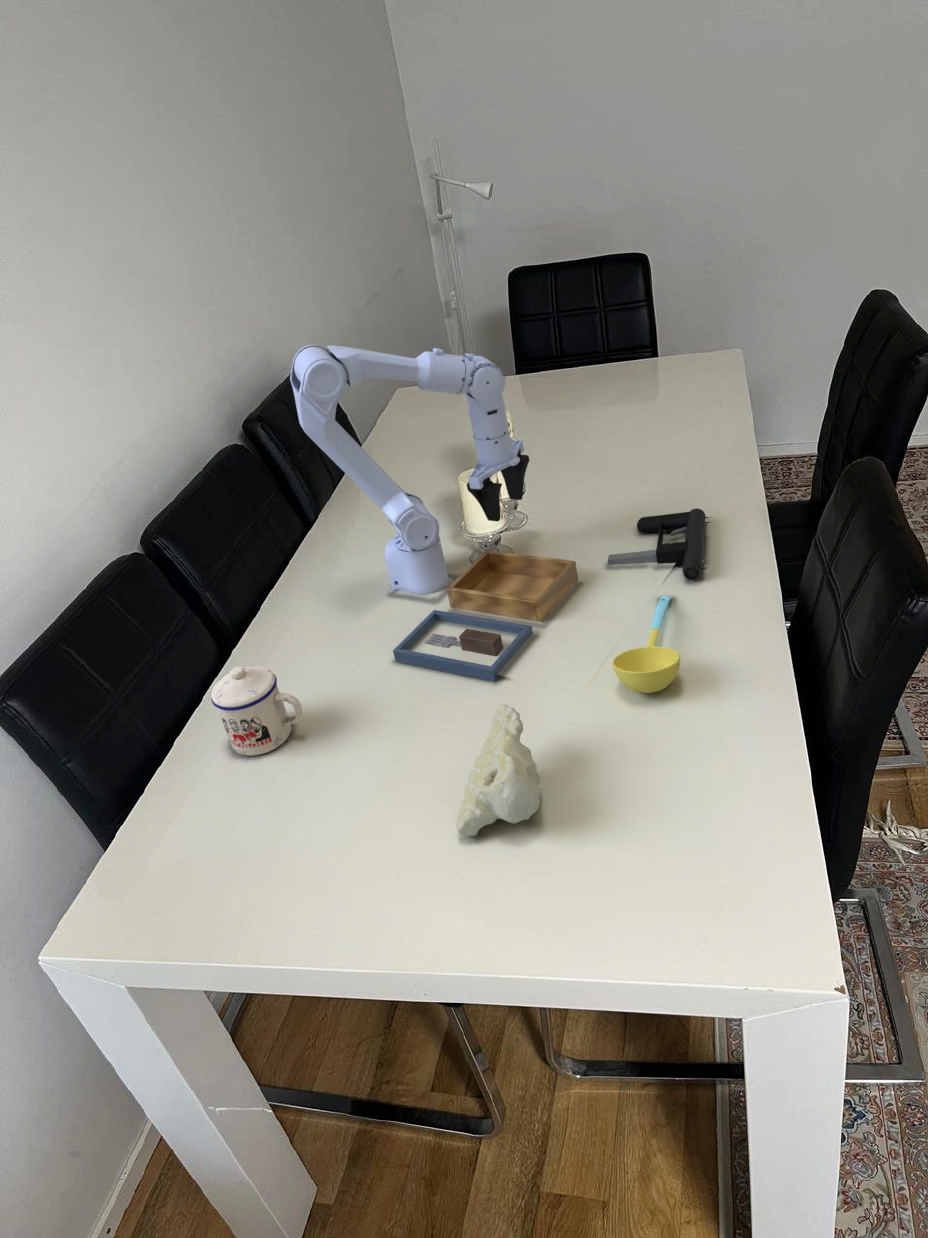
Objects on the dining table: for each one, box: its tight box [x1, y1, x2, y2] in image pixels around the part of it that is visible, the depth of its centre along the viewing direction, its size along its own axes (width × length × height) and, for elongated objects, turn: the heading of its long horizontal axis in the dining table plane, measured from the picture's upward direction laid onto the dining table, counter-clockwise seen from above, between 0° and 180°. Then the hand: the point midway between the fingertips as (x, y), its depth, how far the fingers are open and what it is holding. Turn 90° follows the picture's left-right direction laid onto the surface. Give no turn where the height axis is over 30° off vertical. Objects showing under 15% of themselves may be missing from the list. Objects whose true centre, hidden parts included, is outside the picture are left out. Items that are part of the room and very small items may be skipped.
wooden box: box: [446, 550, 579, 624], centre depth 155 cm, size 17×13×4 cm
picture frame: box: [392, 609, 534, 683], centre depth 146 cm, size 18×12×2 cm, turn 59°
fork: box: [424, 628, 504, 657], centre depth 146 cm, size 13×2×3 cm, turn 59°
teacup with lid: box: [210, 665, 303, 756], centre depth 134 cm, size 12×9×12 cm
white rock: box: [455, 703, 541, 838], centre depth 116 cm, size 15×7×15 cm
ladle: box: [612, 595, 681, 694], centre depth 137 cm, size 9×26×6 cm, turn 165°
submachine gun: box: [607, 507, 711, 581], centre depth 159 cm, size 3×20×16 cm
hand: (505, 509), depth 163 cm, fingers open, 7 cm apart
